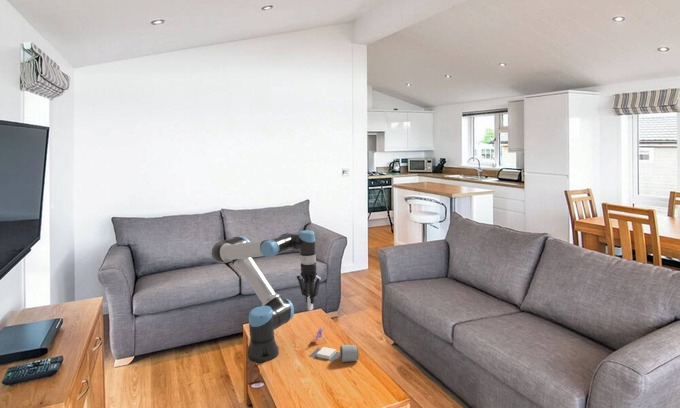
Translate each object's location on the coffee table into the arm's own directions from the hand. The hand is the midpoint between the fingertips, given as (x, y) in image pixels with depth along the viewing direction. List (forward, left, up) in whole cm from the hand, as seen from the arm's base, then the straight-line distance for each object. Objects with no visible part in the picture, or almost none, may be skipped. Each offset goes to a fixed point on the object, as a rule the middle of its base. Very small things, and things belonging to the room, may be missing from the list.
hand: (310, 309), depth 207 cm
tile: (+4, 0, -21) cm, 22 cm away
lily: (-2, +11, -23) cm, 25 cm away
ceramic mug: (+19, +1, -23) cm, 30 cm away
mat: (+7, 0, -22) cm, 24 cm away
